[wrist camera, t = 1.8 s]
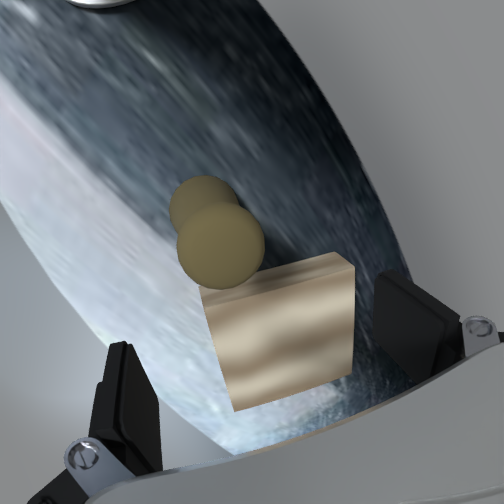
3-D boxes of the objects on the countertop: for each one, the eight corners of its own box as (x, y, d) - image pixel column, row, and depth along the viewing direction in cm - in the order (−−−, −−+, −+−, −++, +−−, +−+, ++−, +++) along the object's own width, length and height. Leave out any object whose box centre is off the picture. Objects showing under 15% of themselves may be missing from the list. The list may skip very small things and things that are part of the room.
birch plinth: (198, 286, 30) (203, 308, 26) (334, 251, 32) (354, 266, 28) (227, 387, 35) (234, 411, 31) (336, 353, 37) (351, 373, 34)
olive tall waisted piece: (252, 203, 28) (300, 245, 18) (209, 255, 29) (233, 322, 19) (198, 160, 26) (217, 178, 16) (155, 217, 26) (147, 269, 16)
